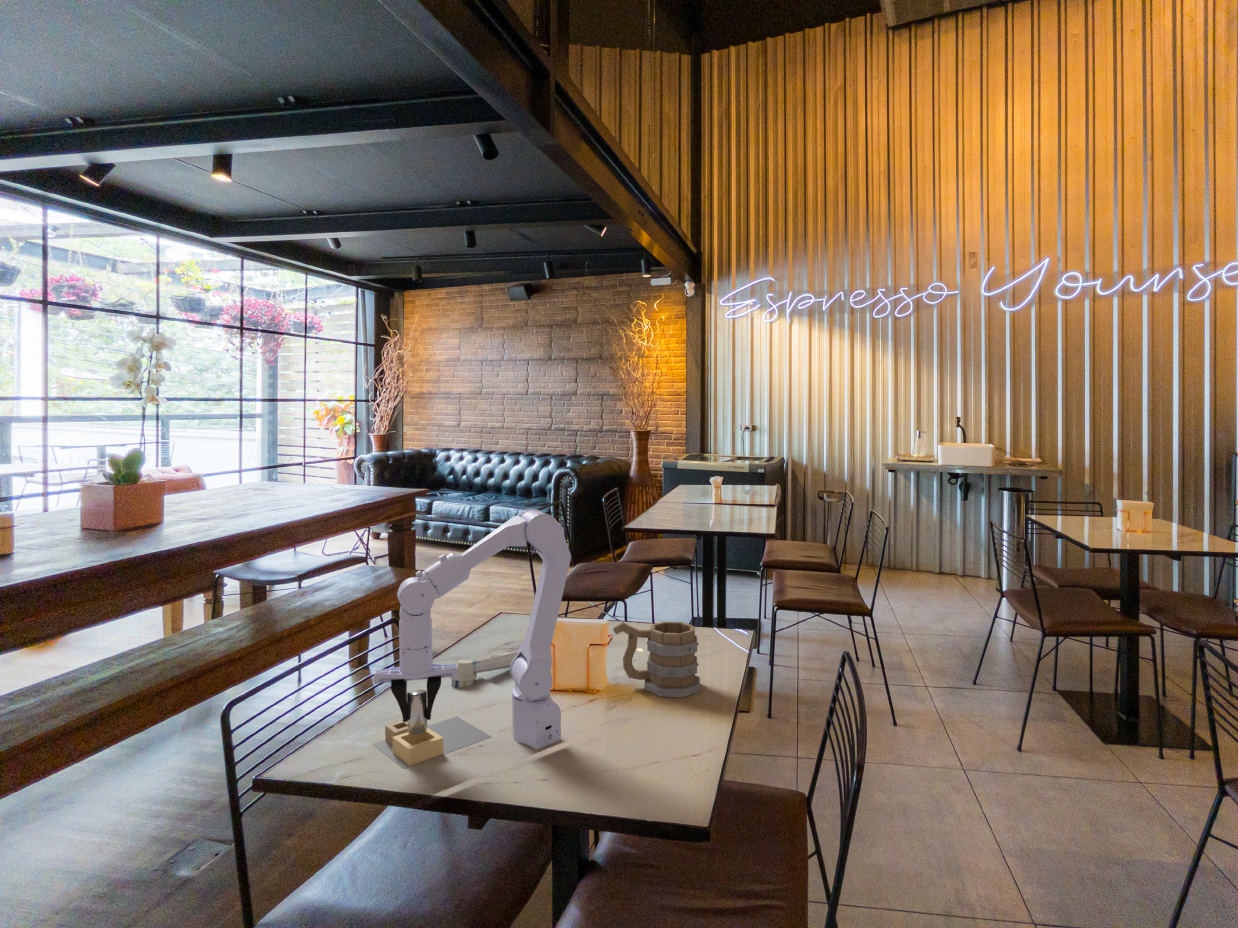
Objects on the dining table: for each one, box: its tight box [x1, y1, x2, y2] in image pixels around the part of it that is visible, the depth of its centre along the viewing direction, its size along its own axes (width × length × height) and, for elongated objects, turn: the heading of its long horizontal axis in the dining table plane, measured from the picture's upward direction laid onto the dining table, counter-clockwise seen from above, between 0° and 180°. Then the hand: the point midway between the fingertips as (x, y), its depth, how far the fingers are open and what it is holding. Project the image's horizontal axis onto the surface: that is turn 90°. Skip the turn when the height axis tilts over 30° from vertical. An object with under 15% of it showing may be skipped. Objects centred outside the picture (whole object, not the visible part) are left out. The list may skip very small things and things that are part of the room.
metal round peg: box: [407, 688, 428, 735], centre depth 127 cm, size 3×3×7 cm
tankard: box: [612, 621, 701, 699], centre depth 161 cm, size 20×13×15 cm, turn 84°
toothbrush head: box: [449, 649, 519, 688], centre depth 169 cm, size 5×7×25 cm
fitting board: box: [371, 716, 492, 770], centre depth 132 cm, size 13×18×4 cm
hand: (417, 718), depth 127 cm, fingers closed on metal round peg, 3 cm apart
